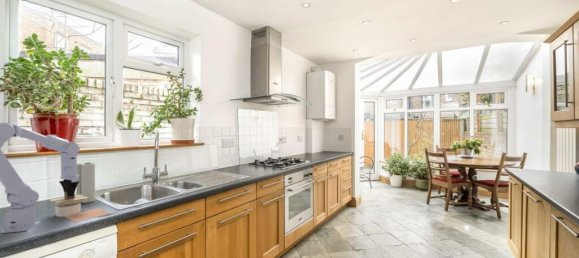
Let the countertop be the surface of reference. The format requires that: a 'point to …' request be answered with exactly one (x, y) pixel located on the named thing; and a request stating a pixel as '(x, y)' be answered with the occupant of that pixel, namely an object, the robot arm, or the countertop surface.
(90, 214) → the mat
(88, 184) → the paper towel roll
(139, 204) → the countertop surface
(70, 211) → the bowl
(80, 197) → the lid
